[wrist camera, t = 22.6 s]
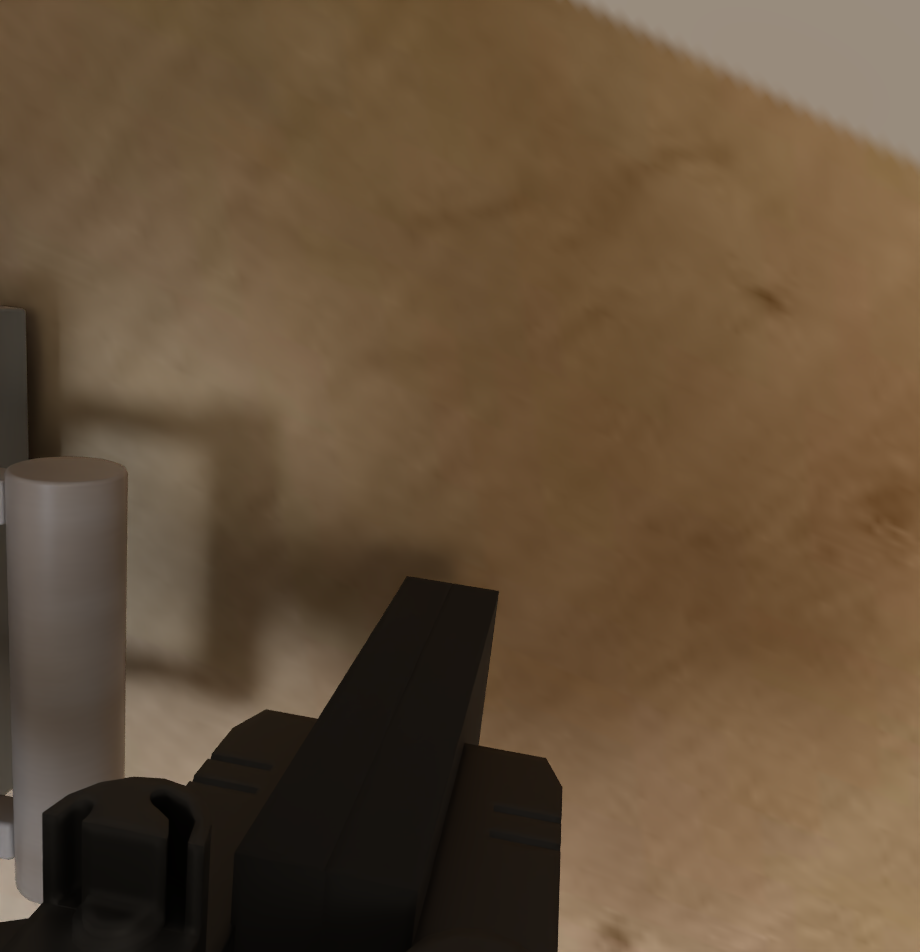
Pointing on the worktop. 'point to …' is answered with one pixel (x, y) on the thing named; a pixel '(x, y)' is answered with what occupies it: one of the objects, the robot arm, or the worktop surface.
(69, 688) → the drawer
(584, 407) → the worktop surface
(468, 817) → the robot arm
